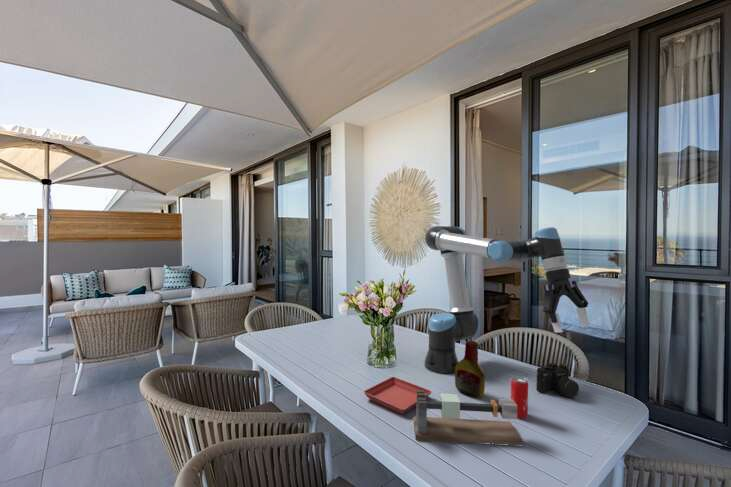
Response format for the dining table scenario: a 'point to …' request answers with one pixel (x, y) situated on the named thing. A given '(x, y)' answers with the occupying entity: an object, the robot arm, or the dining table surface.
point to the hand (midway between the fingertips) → (572, 329)
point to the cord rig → (467, 423)
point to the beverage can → (520, 395)
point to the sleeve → (450, 406)
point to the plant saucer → (395, 394)
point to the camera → (556, 380)
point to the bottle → (470, 372)
